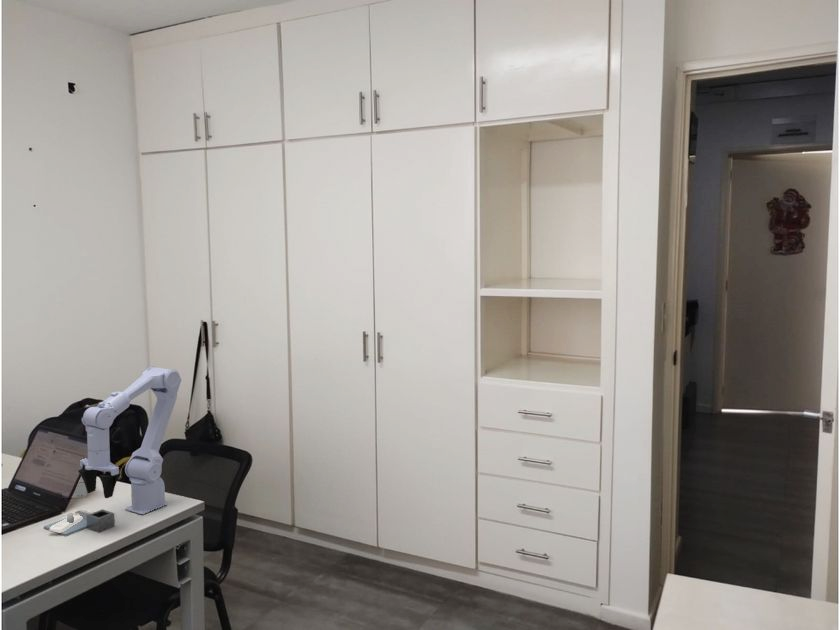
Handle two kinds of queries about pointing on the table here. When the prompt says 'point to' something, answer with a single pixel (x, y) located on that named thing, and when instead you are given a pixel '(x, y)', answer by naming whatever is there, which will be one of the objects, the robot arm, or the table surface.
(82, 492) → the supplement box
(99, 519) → the grey open box
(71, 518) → the keeper
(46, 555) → the table surface
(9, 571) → the table surface
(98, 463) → the robot arm
